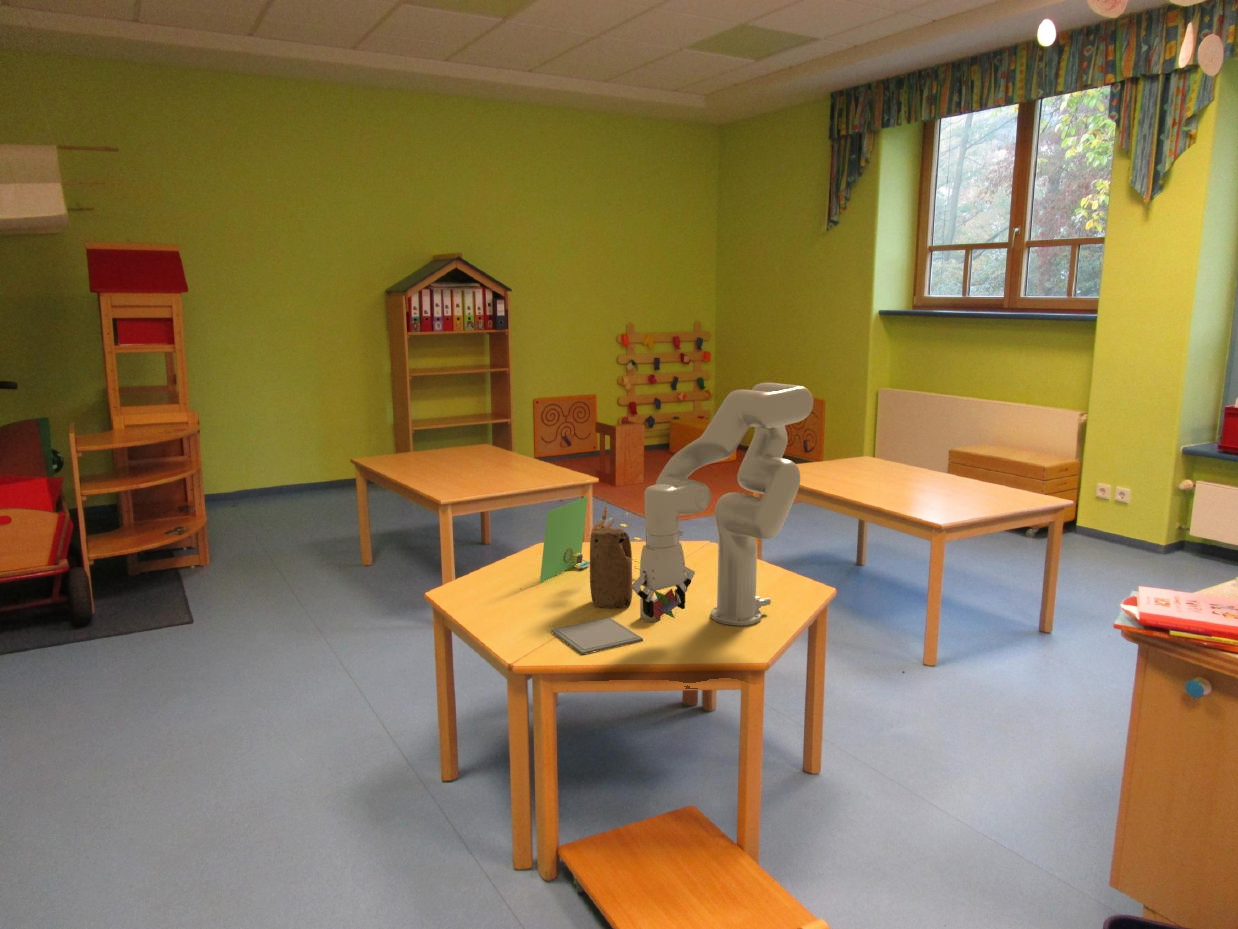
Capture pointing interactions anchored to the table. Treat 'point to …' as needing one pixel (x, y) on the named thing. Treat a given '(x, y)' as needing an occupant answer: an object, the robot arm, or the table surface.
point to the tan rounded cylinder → (645, 617)
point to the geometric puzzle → (665, 603)
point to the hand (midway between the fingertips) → (664, 611)
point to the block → (610, 568)
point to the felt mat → (596, 635)
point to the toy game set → (567, 538)
